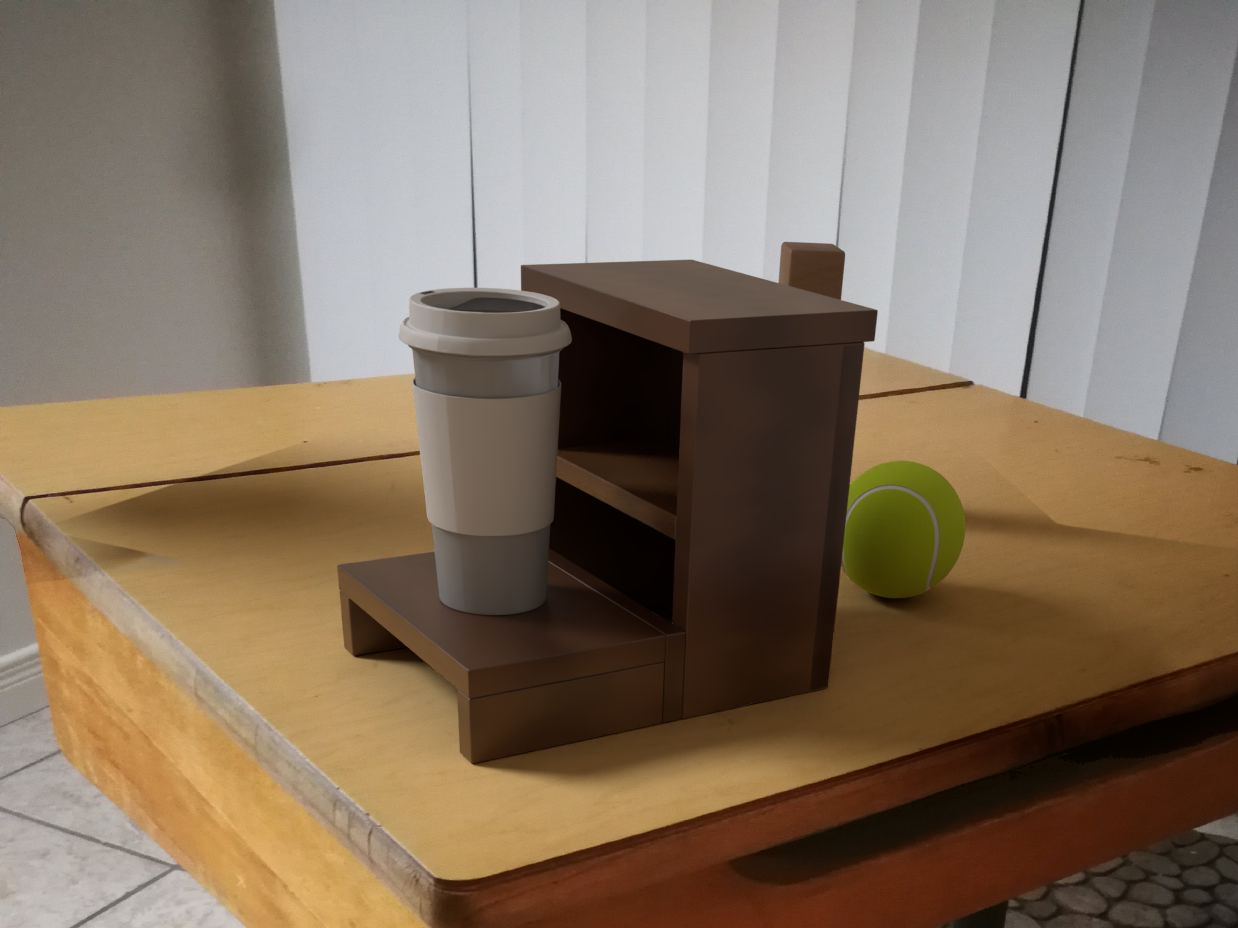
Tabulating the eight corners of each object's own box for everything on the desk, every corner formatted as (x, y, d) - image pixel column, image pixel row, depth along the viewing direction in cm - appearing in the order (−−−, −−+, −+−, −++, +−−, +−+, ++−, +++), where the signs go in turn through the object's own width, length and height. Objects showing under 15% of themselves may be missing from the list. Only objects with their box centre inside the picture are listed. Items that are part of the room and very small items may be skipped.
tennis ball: (842, 566, 81) (855, 440, 78) (964, 585, 80) (984, 456, 76) (812, 604, 76) (825, 470, 72) (942, 625, 74) (963, 488, 70)
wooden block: (821, 511, 90) (846, 251, 82) (770, 510, 90) (790, 248, 82) (802, 483, 96) (824, 236, 88) (754, 482, 96) (771, 234, 87)
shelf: (471, 764, 57) (455, 333, 49) (343, 648, 67) (311, 271, 58) (837, 686, 66) (878, 310, 58) (677, 593, 76) (692, 259, 67)
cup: (470, 561, 66) (460, 279, 60) (598, 587, 64) (602, 298, 58) (381, 607, 61) (360, 301, 54) (519, 637, 59) (513, 322, 52)
